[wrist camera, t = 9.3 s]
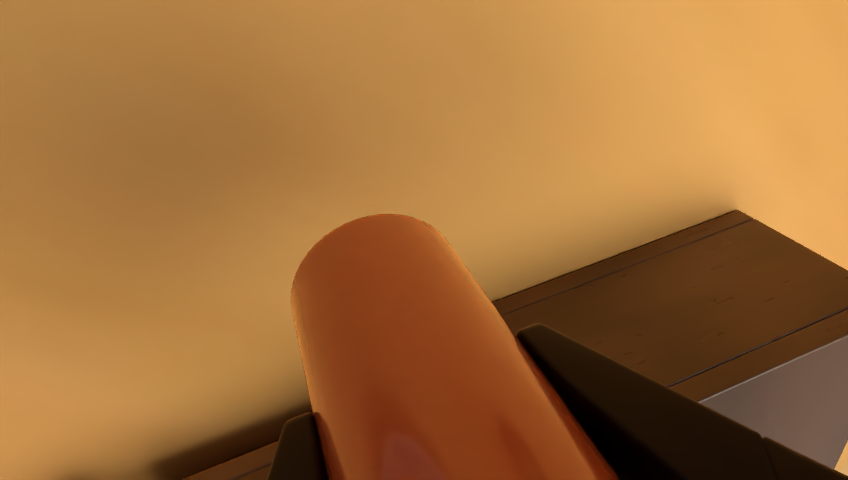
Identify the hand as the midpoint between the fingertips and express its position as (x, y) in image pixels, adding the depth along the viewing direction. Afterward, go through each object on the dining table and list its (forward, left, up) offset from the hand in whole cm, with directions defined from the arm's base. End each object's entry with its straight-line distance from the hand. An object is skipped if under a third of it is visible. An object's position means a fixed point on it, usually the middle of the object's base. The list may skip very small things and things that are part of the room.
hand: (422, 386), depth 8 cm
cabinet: (-14, -8, -8) cm, 18 cm away
